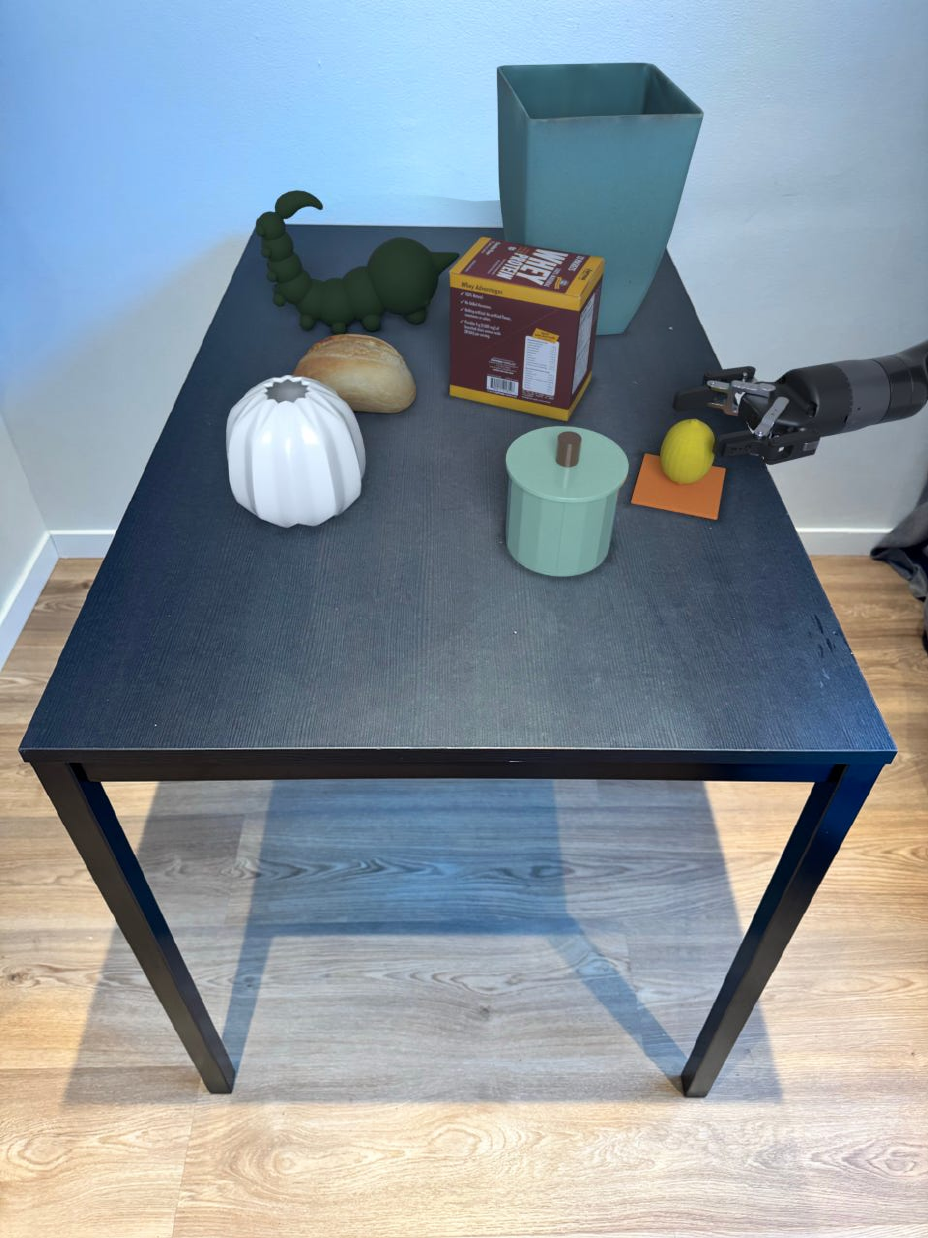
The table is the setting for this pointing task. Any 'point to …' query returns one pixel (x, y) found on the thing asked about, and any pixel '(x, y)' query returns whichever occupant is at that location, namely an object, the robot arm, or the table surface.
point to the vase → (294, 452)
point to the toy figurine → (349, 275)
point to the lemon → (687, 451)
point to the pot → (558, 532)
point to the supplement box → (523, 326)
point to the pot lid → (567, 464)
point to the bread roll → (361, 372)
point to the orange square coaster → (678, 490)
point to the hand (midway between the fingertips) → (694, 423)
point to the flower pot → (595, 168)
